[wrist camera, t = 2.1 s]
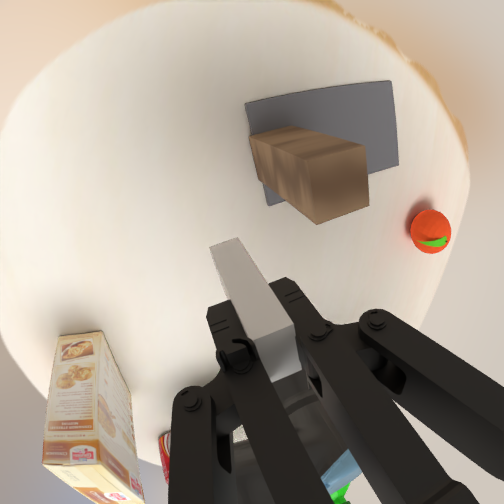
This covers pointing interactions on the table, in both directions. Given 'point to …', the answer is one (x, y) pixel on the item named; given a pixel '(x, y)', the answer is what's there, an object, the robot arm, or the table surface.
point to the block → (312, 171)
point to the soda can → (165, 454)
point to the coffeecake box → (91, 423)
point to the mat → (335, 119)
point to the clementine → (430, 231)
